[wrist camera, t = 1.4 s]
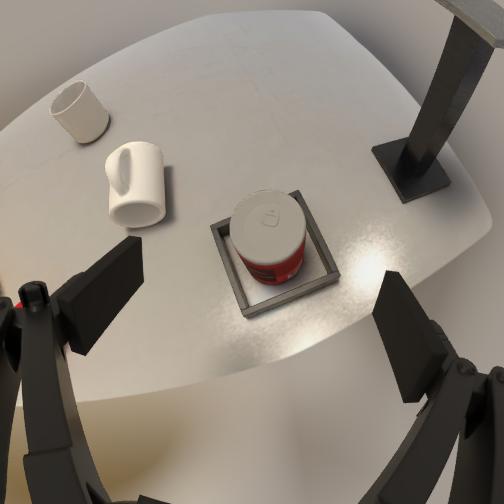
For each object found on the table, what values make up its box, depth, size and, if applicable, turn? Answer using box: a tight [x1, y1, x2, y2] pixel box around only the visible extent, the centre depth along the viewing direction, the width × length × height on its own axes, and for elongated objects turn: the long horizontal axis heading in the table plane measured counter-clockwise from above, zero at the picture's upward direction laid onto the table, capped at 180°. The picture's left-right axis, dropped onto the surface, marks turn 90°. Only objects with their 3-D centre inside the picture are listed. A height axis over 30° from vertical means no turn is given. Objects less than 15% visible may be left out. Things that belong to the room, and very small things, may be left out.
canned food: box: [230, 190, 306, 285], centre depth 35 cm, size 8×8×11 cm
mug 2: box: [105, 142, 166, 228], centre depth 40 cm, size 8×10×12 cm
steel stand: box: [371, 0, 504, 203], centre depth 27 cm, size 11×11×30 cm
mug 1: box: [49, 81, 109, 143], centre depth 49 cm, size 12×9×11 cm
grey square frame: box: [210, 190, 341, 318], centre depth 39 cm, size 13×13×3 cm
